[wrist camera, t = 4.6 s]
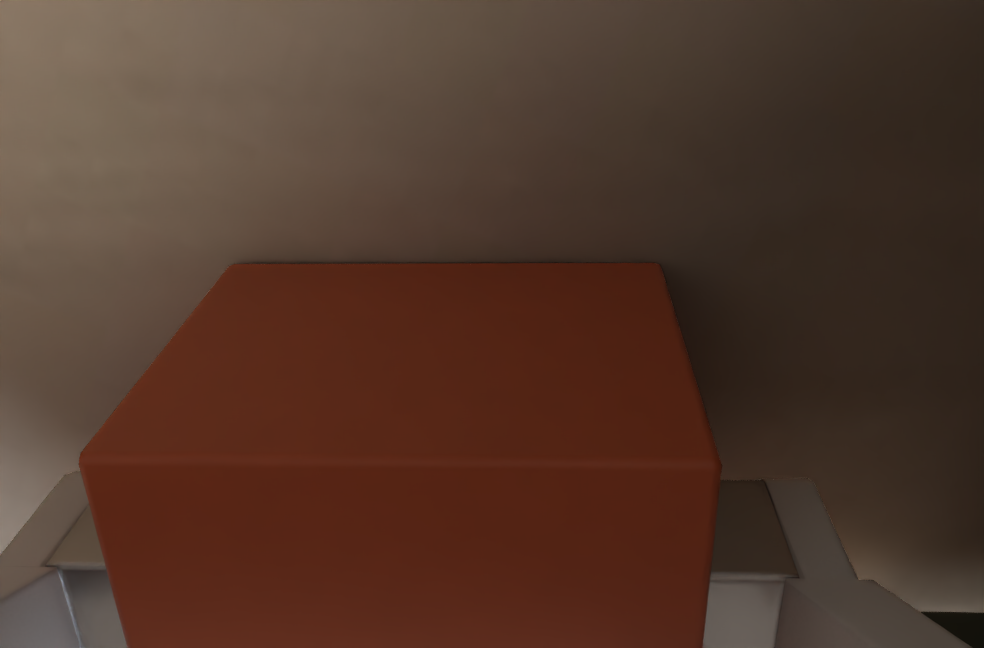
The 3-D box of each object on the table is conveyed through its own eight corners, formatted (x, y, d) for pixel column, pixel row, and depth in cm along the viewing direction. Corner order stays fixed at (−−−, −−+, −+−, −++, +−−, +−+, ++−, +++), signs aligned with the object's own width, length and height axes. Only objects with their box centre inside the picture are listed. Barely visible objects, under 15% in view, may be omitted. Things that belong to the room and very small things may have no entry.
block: (662, 259, 10) (725, 462, 7) (640, 597, 13) (679, 884, 9) (228, 261, 11) (70, 457, 7) (281, 592, 13) (181, 868, 9)
